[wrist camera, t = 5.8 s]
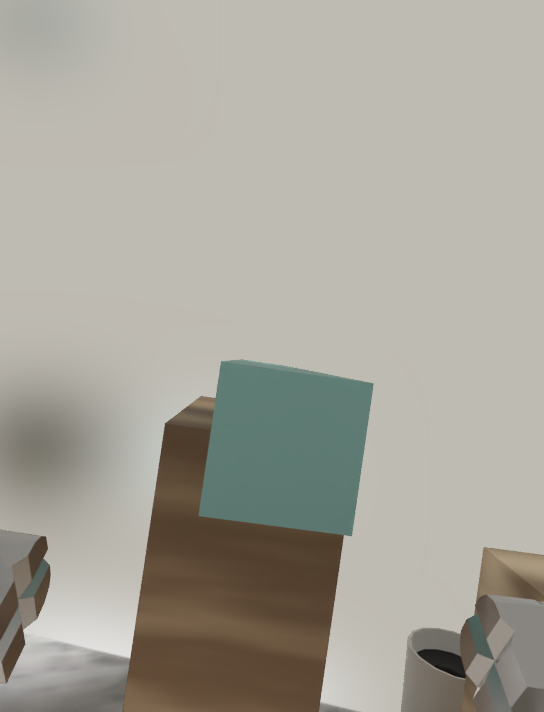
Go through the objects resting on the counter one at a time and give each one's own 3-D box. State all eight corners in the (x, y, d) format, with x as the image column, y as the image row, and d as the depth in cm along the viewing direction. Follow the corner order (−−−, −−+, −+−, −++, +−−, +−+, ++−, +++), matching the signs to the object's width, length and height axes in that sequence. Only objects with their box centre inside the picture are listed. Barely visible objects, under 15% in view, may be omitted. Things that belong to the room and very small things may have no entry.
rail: (352, 536, 10) (373, 383, 10) (198, 516, 10) (221, 361, 10) (277, 406, 36) (283, 365, 36) (236, 401, 35) (242, 359, 36)
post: (266, 1076, 20) (355, 449, 21) (71, 1060, 20) (165, 423, 20) (259, 772, 35) (311, 411, 36) (147, 760, 35) (201, 396, 35)
